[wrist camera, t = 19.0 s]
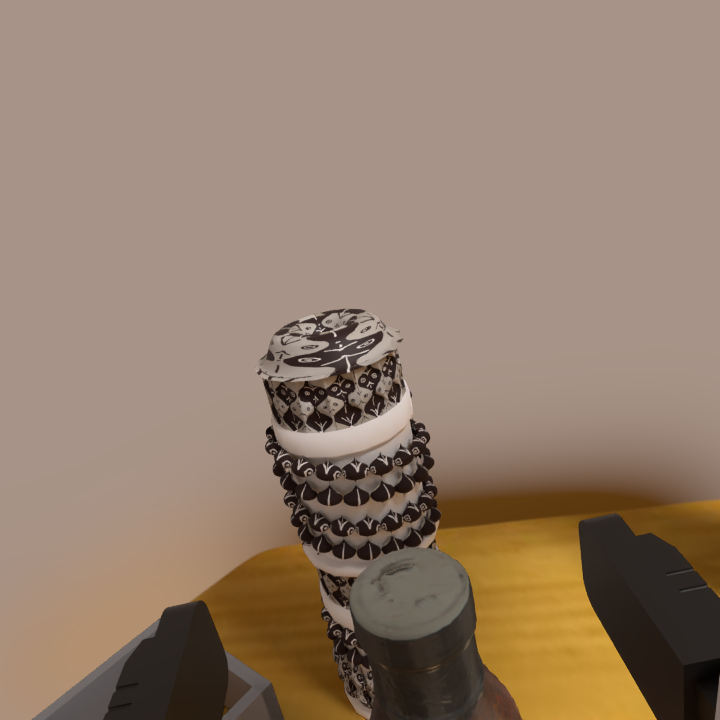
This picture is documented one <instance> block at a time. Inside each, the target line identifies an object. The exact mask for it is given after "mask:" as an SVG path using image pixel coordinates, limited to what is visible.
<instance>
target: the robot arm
mask: <svg viewBox="0 0 720 720" xmlns="http://www.w3.org/2000/svg"><path fill="white" fill-rule="evenodd" d="M579 538H580V549H581V560H582V571H583V580H584V585H585V588H586V592H587V595H588V598H589V600H590V603H591V605H592V607H593V609H594V611H595V613H596V614H597V616H598V618H599V620H600V621H601V623H602V625H603V627H604V628H605V630H606V632H607V634H608V635H609V637H610V639H611V640H612V642H613V644H614V646H615V647H616V649H617V651H618V653H619V654H620V656H621V658H622V660H623V661H624V663H625V665H626V666H627V668H628V670H629V672H630V673H631V675H632V677H633V679H634V680H635V682H636V684H637V686H638V687H639V689H640V691H641V693H642V694H643V696H644V698H645V699H646V701H647V703H648V705H649V706H650V708H651V710H652V712H653V713H654V715H655V717H656V719H657V720H720V598H719V597H718V596H717V595H716V594H715V592H714V591H713V590H712V589H711V588H708V586H707V583H706V582H705V581H704V580H703V579H702V577H701V576H700V575H699V574H698V573H697V572H696V571H695V572H694V570H693V567H692V566H691V565H690V564H689V562H688V561H687V560H686V559H685V558H684V557H683V555H682V554H681V553H680V552H679V551H678V550H677V549H676V548H675V547H674V546H672V545H670V544H669V543H667V542H665V541H664V540H662V539H660V538H659V537H657V536H655V535H654V534H652V533H648V534H643V535H639V536H636V535H635V534H634V533H633V532H632V530H631V529H630V528H629V526H628V525H627V524H626V523H625V521H624V520H623V519H622V518H621V517H620V516H619V515H618V514H616V513H614V514H609V515H605V516H600V517H595V518H591V519H586V520H581V521H580V522H579ZM227 687H228V662H227V657H226V653H225V650H224V648H223V645H222V643H221V640H220V638H219V635H218V633H217V630H216V628H215V625H214V623H213V620H212V618H211V615H210V613H209V610H208V608H207V606H206V604H205V603H204V602H203V601H196V602H191V603H186V604H182V605H177V606H172V607H168V608H166V609H165V610H164V612H163V614H162V616H161V619H160V622H159V625H158V628H157V631H156V634H155V637H152V638H147V639H143V640H142V641H141V642H140V644H139V645H138V646H137V648H136V649H135V650H134V651H133V653H132V654H131V655H130V657H129V658H128V659H127V661H126V662H125V664H124V666H123V669H122V672H121V674H120V677H119V679H118V682H117V685H116V692H113V695H112V698H111V700H110V703H109V706H108V713H105V716H104V719H103V720H222V716H223V710H224V704H225V699H226V693H227Z"/></svg>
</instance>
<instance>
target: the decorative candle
mask: <svg viewBox="0 0 720 720" xmlns="http://www.w3.org/2000/svg"><path fill="white" fill-rule="evenodd" d="M402 340H403V337H402V335H401V333H400V331H399V330H397V329H394V328H391V327H389V326H385V325H384V324H383V323H382V321H381V320H380V319H379V318H378V317H377V316H376V315H374V314H373V313H370V312H368V311H364V310H361V309H340V310H332V311H326V312H322V313H317V314H313V315H310V316H307V317H304V318H301V319H298V320H296V321H294V322H292V323H290V324H288V325H286V326H284V327H283V328H282V329H280V330H279V331H278V332H276V333H275V334H274V336H273V337H272V339H271V342H270V346H269V350H268V353H267V354H266V355H265V356H264V357H263V358H261V359H260V360H259V361H258V363H257V367H256V370H255V372H257V373H258V374H259V375H260V376H261V377H262V379H263V383H264V386H265V389H266V393H267V397H268V400H269V403H270V407H271V410H272V419H271V422H272V426H270V427H269V428H268V429H267V430H266V436H267V438H268V439H269V440H268V441H267V443H266V445H265V449H266V451H267V452H268V453H269V454H271V455H274V459H275V463H274V465H273V473H274V474H275V475H276V476H279V477H281V479H280V483H281V486H282V487H283V488H284V489H285V490H287V491H288V492H287V493H286V494H285V496H284V503H285V504H286V505H287V506H288V507H291V508H293V514H292V516H291V523H292V525H293V526H295V527H299V529H298V536H299V538H300V539H301V540H302V541H303V543H302V545H303V550H304V553H305V554H306V555H307V557H308V558H309V560H310V561H311V562H312V564H313V565H314V567H316V568H317V571H318V574H319V578H320V592H321V595H322V597H321V600H322V602H323V604H324V607H323V609H322V612H321V615H322V618H323V620H324V621H327V622H329V623H328V630H327V636H328V638H329V639H331V640H333V642H334V646H333V659H334V661H335V662H336V663H337V664H338V665H339V666H338V675H339V678H340V679H341V680H342V681H343V682H344V687H345V693H346V696H347V697H348V699H349V701H350V702H351V704H352V706H353V707H354V709H355V711H356V712H357V713H358V714H359V715H361V716H362V717H364V718H365V719H367V720H370V716H371V711H372V706H373V701H374V696H375V692H374V690H373V673H372V669H371V667H370V664H369V659H368V656H367V654H366V653H365V652H364V651H363V649H362V648H361V646H360V644H359V642H358V640H357V638H356V635H355V632H354V625H353V620H352V617H351V613H350V606H349V594H350V591H351V588H352V585H353V583H354V582H355V581H356V579H357V577H358V575H359V574H360V573H362V572H363V571H364V570H365V569H366V568H367V567H368V566H369V565H370V564H371V563H373V562H374V561H376V560H377V559H379V558H380V557H382V556H384V555H386V554H388V553H390V552H392V551H397V550H401V549H406V548H412V547H419V548H430V549H435V550H439V549H438V546H437V545H436V540H435V536H436V532H437V529H438V525H439V519H440V517H441V512H440V511H439V510H438V509H437V508H436V507H437V501H436V500H435V499H433V498H434V497H435V496H436V495H437V488H436V487H435V485H433V480H432V477H431V476H429V471H428V470H429V469H431V468H432V467H433V465H434V459H433V458H432V457H430V451H429V449H428V448H426V444H427V443H428V442H429V440H430V435H429V433H428V432H427V431H426V430H425V426H424V424H422V423H420V422H415V421H414V420H411V419H410V418H411V416H412V414H413V407H412V402H411V397H412V394H411V392H410V391H409V388H408V386H407V384H406V381H405V380H404V379H403V377H402V367H401V362H400V359H399V355H398V351H397V347H398V346H399V344H400V342H401V341H402ZM412 434H413V435H412ZM414 436H415V437H414ZM277 442H278V443H279V444H280V445H278V443H277ZM417 456H419V458H420V459H421V465H420V464H418V460H417ZM285 468H291V473H292V474H290V472H286V470H285ZM423 489H424V491H425V492H424V491H423ZM295 493H296V495H295ZM303 522H306V523H303Z"/></svg>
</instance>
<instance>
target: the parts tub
mask: <svg viewBox="0 0 720 720" xmlns="http://www.w3.org/2000/svg"><path fill="white" fill-rule="evenodd" d="M160 619H161V618H160ZM160 619H158V620H157V621H156V622H155V623H153V624H152V625H151V626H149V627H148V628H147V629H146V630H144V631H143V632H142V633H141V634H139V635H138V636H137V637H136V638H134V639H133V640H132V641H131V642H129V643H128V644H127V645H125V646H124V647H123V648H122V649H120V650H119V651H118V652H117V653H115V654H114V655H113V656H112V657H111V658H109V659H108V660H107V661H105V662H104V663H103V664H102V665H100V666H99V667H98V668H96V669H95V670H94V671H93V672H91V673H90V674H89V675H88V676H86V677H85V678H84V679H83V680H81V681H80V682H79V683H78V684H77V685H75V686H74V687H72V688H71V689H70V690H69V691H67V692H66V693H65V694H64V695H62V696H61V697H60V698H59V699H57V700H56V701H55V702H54V703H52V704H51V705H50V706H48V707H47V708H46V709H45V710H43V711H42V712H41V713H40V714H38V715H37V716H36V717H35V718H33V719H32V720H103V719H104V716H105V713H108V706H109V703H110V700H111V698H112V695H113V692H116V685H117V682H118V679H119V677H120V674H121V672H122V669H123V666H124V664H125V662H126V661H127V659H128V658H129V657H130V655H131V654H132V653H133V651H134V650H135V649H136V648H137V646H138V645H139V644H140V642H141V641H142V640H143V639H147V638H152V637H155V634H156V631H157V628H158V625H159V622H160ZM225 653H226V657H227V662H228V687H227V693H226V699H225V704H224V706H226V707H227V708H228V709H229V711H228V712H227V713H226V714H225V715H224V716H223V717H222V720H284V717H283V714H282V712H281V709H280V706H279V703H278V700H277V697H276V694H275V692H274V689H273V686H272V683H271V682H270V681H269V680H267V679H266V678H264V677H263V676H261V675H260V674H258V673H257V672H255V671H254V670H253V669H251V668H250V667H248V666H247V665H245V664H244V663H242V662H241V661H240V660H238V659H237V658H235V657H234V656H232V655H231V654H229V653H228V652H226V651H225Z"/></svg>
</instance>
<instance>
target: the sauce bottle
mask: <svg viewBox="0 0 720 720" xmlns="http://www.w3.org/2000/svg"><path fill="white" fill-rule="evenodd" d="M349 606H350V613H351V617H352V620H353V625H354V632H355V635H356V638H357V640H358V642H359V644H360V646H361V648H362V649H363V651H364V652H365V653H366V654H367V656H368V659H369V664H370V667H371V669H372V673H373V690H374V692H375V696H374V701H373V706H372V711H371V716H370V720H522V718H521V716H520V713H519V710H518V708H517V706H516V703H515V701H514V699H513V698H512V697H511V695H510V693H509V692H508V690H507V689H506V687H505V686H504V685H503V684H502V683H501V682H500V681H499V680H498V678H497V677H496V676H495V675H494V674H492V673H491V672H490V671H489V670H488V668H487V667H486V666H485V665H484V664H483V663H482V660H481V658H480V655H479V653H478V651H477V645H476V640H475V634H474V631H475V629H476V620H477V619H476V613H475V603H474V598H473V592H472V586H471V583H470V579H469V576H468V574H467V572H466V570H465V569H464V567H463V566H462V565H461V564H460V563H459V562H458V561H457V560H455V559H453V558H452V557H450V556H449V555H447V554H445V553H444V552H441V551H439V550H435V549H430V548H419V547H412V548H406V549H401V550H397V551H392V552H390V553H388V554H386V555H384V556H382V557H380V558H379V559H377V560H376V561H374V562H373V563H371V564H370V565H369V566H368V567H367V568H366V569H365V570H364V571H363V572H362V573H360V574H359V575H358V577H357V579H356V581H355V582H354V583H353V585H352V588H351V591H350V594H349Z"/></svg>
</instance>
